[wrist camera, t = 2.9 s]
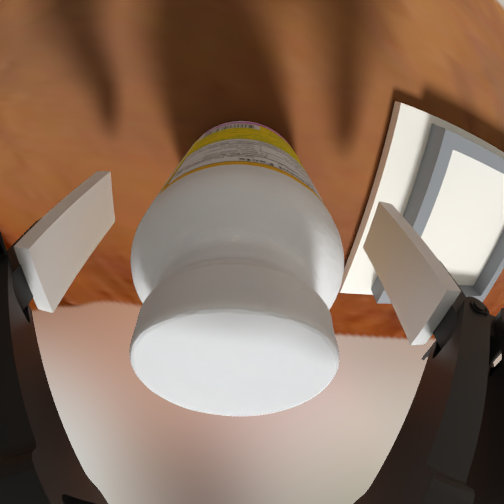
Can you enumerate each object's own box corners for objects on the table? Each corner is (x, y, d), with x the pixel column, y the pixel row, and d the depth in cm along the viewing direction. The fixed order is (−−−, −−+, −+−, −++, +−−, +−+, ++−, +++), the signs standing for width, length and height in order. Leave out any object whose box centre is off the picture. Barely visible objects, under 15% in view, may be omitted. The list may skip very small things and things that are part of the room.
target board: (337, 285, 21) (344, 306, 19) (394, 100, 13) (414, 106, 12) (481, 292, 23) (491, 307, 21) (536, 175, 15) (552, 186, 13)
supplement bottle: (252, 241, 19) (256, 440, 8) (165, 186, 17) (67, 374, 6) (321, 164, 16) (431, 348, 5) (229, 95, 14) (160, 166, 3)
